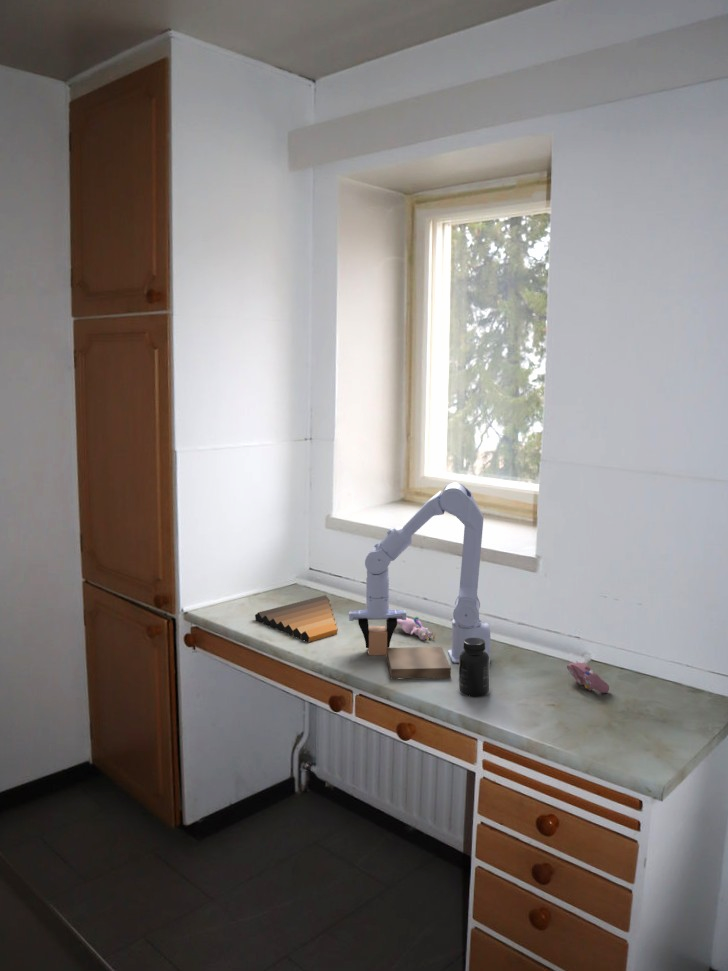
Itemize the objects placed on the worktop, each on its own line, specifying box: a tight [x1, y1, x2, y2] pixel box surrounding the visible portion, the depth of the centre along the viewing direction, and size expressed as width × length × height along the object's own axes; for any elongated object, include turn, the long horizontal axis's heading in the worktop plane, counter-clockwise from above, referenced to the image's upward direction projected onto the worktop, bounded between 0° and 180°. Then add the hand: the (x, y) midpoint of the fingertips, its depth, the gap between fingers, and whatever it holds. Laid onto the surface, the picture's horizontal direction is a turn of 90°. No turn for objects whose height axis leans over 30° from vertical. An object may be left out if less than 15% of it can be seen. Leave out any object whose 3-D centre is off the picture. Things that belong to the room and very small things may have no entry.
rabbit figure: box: [397, 616, 436, 642], centre depth 221 cm, size 6×6×15 cm
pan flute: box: [254, 594, 339, 643], centre depth 232 cm, size 25×3×25 cm
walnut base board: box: [386, 646, 452, 680], centre depth 198 cm, size 14×14×2 cm
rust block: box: [367, 625, 387, 656], centre depth 208 cm, size 5×5×6 cm
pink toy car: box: [566, 660, 610, 694], centre depth 186 cm, size 10×5×7 cm, turn 21°
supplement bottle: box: [458, 638, 491, 698], centre depth 183 cm, size 7×7×12 cm
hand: (377, 646), depth 208 cm, fingers closed on rust block, 5 cm apart
